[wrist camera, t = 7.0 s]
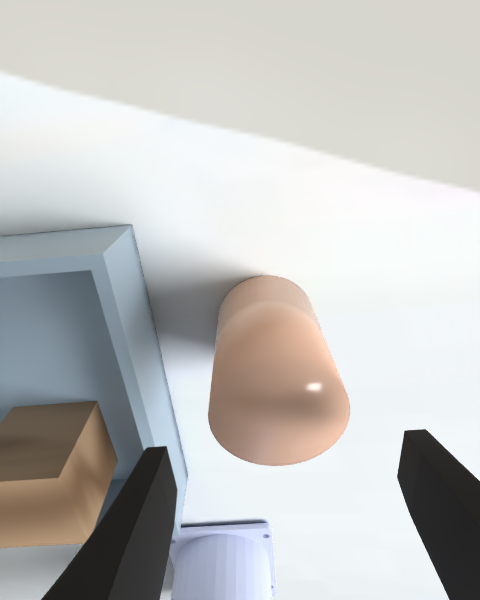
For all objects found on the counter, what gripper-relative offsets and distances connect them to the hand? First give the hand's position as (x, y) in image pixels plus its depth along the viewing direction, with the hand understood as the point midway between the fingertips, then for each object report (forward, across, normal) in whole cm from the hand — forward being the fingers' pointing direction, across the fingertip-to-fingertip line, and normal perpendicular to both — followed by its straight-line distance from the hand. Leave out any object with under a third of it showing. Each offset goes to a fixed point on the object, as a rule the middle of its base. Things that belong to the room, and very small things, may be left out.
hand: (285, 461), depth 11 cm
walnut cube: (+8, +12, +7) cm, 16 cm away
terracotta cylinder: (+9, 0, 0) cm, 9 cm away
